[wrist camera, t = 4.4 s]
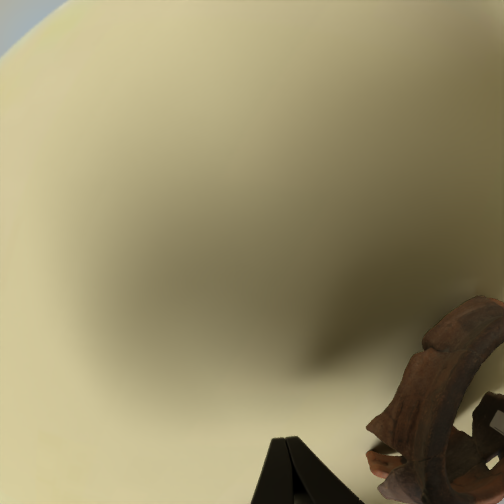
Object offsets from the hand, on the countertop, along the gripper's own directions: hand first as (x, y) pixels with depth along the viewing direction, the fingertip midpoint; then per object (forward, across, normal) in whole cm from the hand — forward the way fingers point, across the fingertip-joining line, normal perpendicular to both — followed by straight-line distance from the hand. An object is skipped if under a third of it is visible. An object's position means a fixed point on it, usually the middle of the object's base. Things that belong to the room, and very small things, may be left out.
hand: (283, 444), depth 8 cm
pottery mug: (+3, -8, +1) cm, 9 cm away
